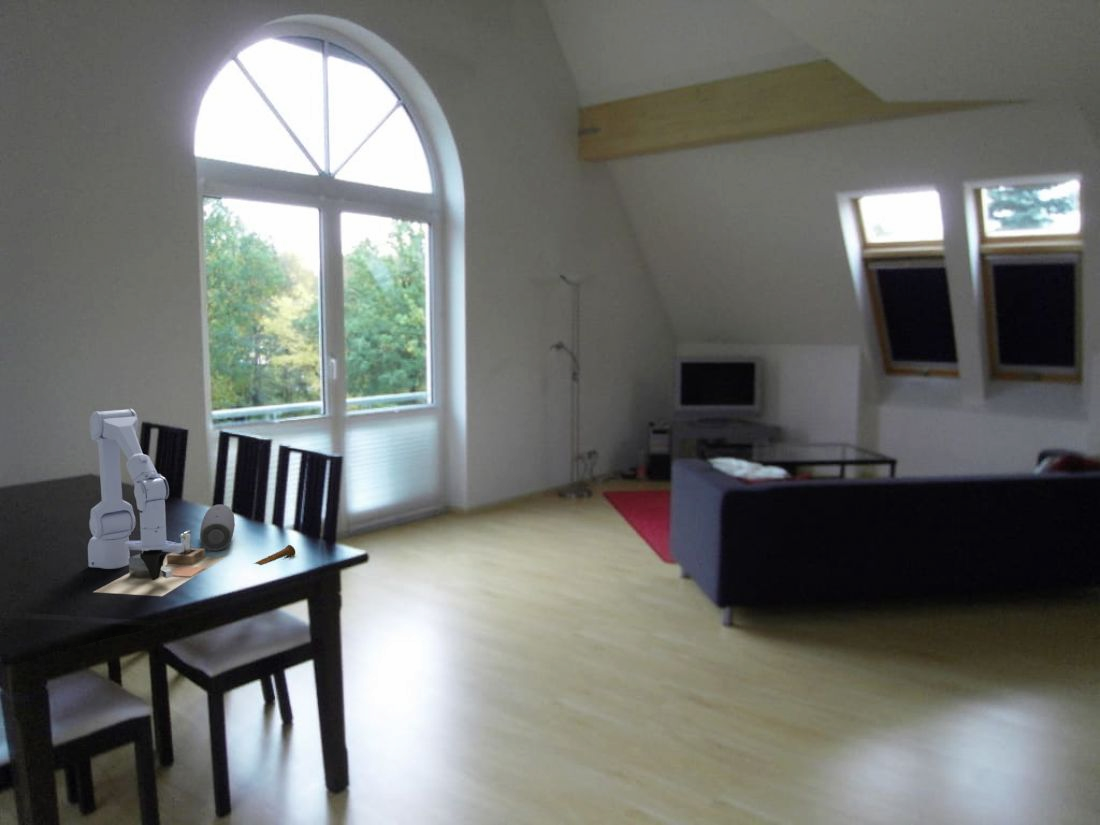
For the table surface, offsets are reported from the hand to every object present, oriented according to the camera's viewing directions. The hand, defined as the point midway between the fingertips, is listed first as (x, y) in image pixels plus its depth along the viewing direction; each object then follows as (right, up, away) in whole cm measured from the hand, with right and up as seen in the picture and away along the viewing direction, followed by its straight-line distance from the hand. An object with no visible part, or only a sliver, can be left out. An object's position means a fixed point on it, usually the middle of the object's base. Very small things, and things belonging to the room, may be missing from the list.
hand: (155, 578), depth 198 cm
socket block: (-2, +1, +20) cm, 20 cm away
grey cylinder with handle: (-3, -1, +6) cm, 7 cm away
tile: (+3, -1, +11) cm, 11 cm away
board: (-3, -2, +10) cm, 10 cm away
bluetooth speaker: (-1, +2, +39) cm, 39 cm away
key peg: (-2, +1, +20) cm, 20 cm away
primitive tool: (+20, -1, +22) cm, 30 cm away
